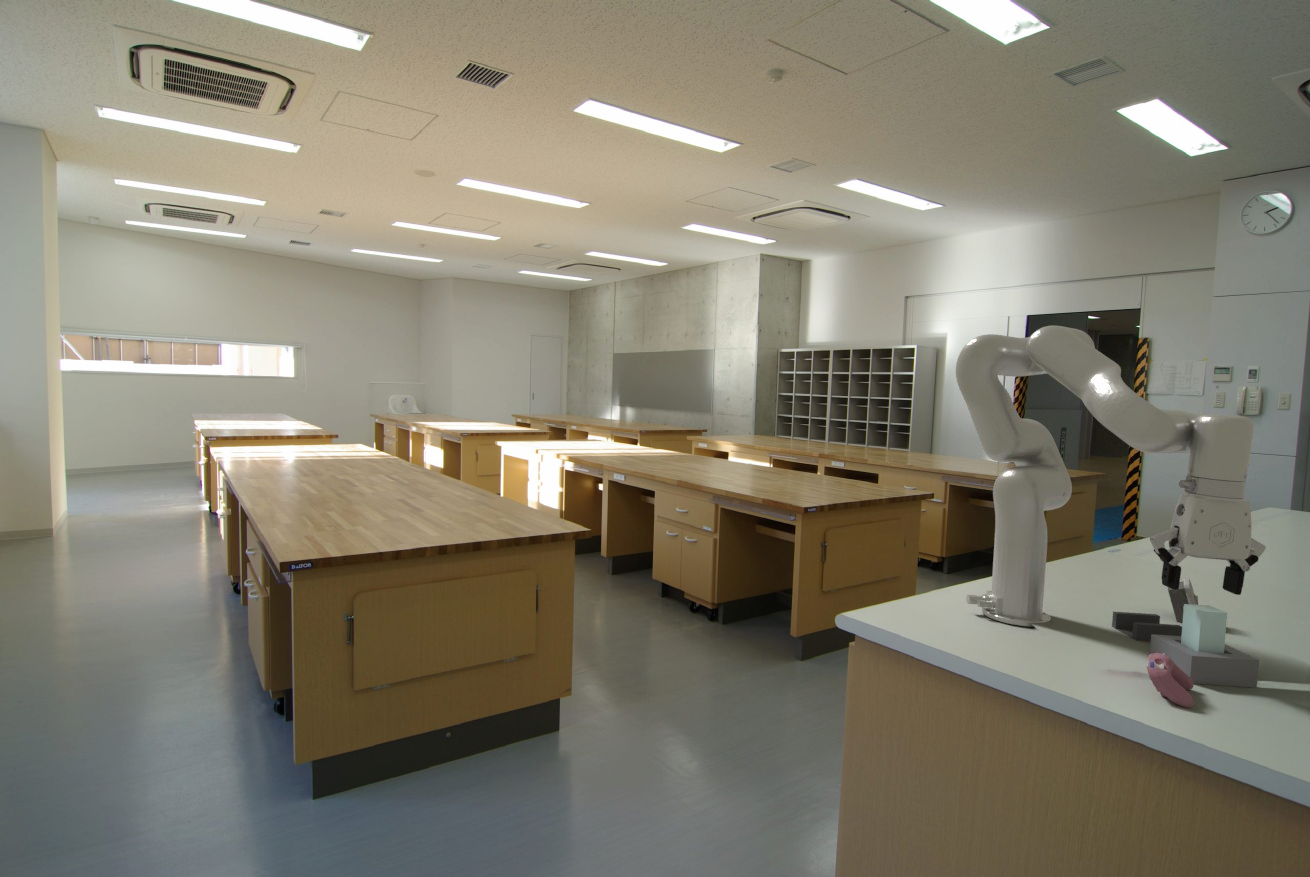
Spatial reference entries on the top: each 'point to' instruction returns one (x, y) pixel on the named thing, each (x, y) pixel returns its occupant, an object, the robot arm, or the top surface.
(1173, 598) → the electrical switch
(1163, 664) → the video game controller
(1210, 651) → the plug
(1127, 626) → the dark grey flanged block
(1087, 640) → the top surface
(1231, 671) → the port
